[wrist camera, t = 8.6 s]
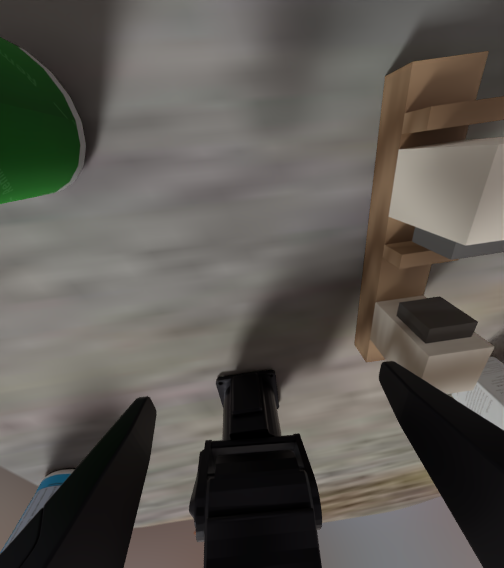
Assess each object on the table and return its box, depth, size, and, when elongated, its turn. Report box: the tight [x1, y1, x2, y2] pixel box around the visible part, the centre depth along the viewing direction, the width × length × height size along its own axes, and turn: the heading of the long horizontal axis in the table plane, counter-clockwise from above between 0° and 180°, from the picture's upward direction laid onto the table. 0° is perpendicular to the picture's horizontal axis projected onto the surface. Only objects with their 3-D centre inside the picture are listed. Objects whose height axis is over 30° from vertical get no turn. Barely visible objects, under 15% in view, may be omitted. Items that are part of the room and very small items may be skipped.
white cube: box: [389, 137, 504, 260], centre depth 13 cm, size 5×4×6 cm
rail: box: [355, 51, 504, 394], centre depth 16 cm, size 22×4×8 cm, turn 7°
